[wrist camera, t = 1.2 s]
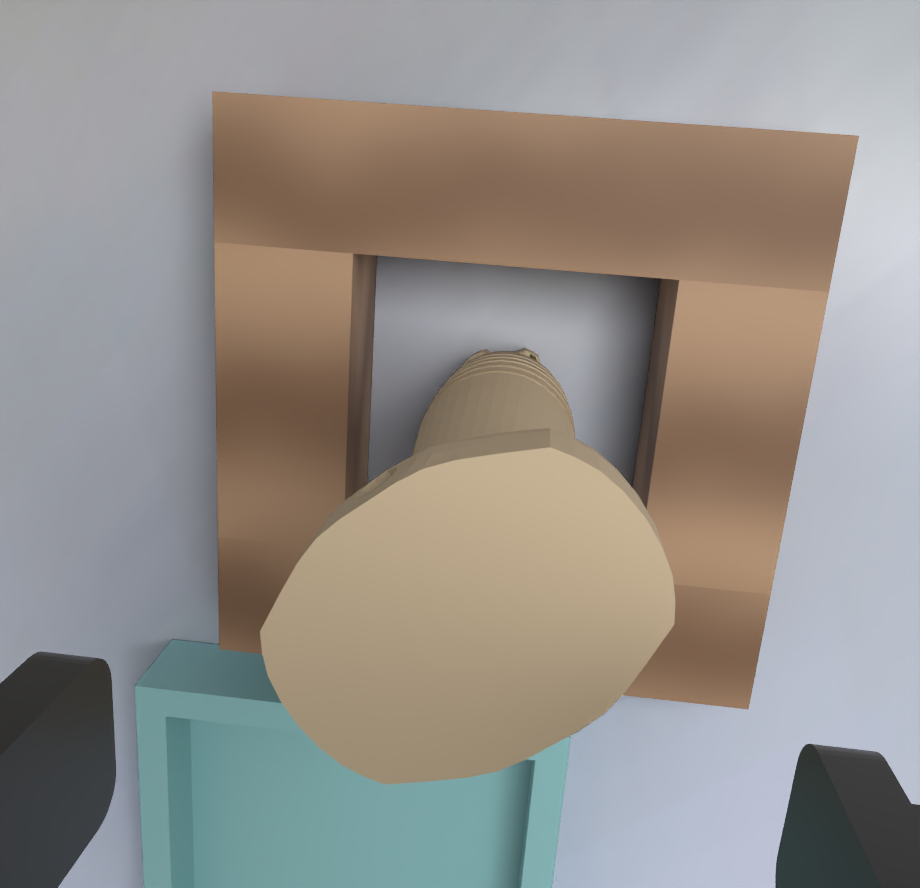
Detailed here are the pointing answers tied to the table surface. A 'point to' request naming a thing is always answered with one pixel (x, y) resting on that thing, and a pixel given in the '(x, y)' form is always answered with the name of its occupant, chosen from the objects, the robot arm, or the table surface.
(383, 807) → the tray
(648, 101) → the table surface
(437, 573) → the handle
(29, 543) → the table surface
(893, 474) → the table surface
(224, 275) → the socket block
